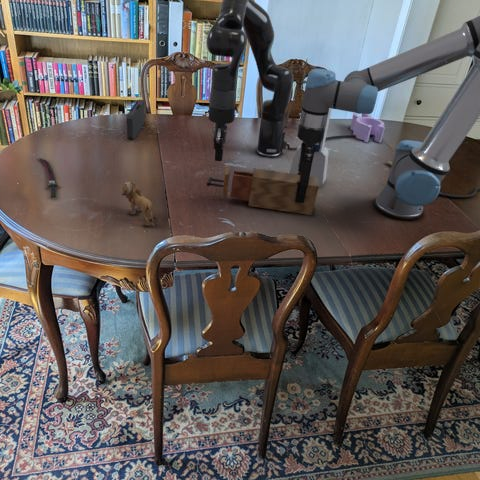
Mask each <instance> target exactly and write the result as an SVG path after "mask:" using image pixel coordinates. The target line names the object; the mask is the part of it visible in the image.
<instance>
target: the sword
mask: <svg viewBox="0 0 480 480" xmlns="http://www.w3.org/2000/svg"><path fill="white" fill-rule="evenodd" d="M40 161H41V162H42V163H43V165H44V166H45V169H46V173H47V176H48V185H47V188H50V198H56V197H57V189H56V188H57V187H59V185H58V184H57V183H56V180H55V176H54V172H53V169H52V167H51V164H50V163H49V161H48V160H46V159H43V158H40Z"/></svg>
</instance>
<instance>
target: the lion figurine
mask: <svg viewBox="0 0 480 480" xmlns="http://www.w3.org/2000/svg"><path fill="white" fill-rule="evenodd" d="M119 193H120V194H121V196H122V197H124V196H125V198H126V199H127V200H128V202H129V203H130V207H131V211H130V212H129V213H130V215H135V214H136V211H137V212H141V214H142V216H143V218H144V219H145V223H144V225H145V227H149V226H150V221H152V223H153V225H155V226H159V222H156V221H155V219H154V217H153V216H154V215H153V204H152V202H151V200H150V199H148V198H146V197H145V196H144V195H143V194H142V192H141V190H140V187H138V185H136V184H135V183H133V182H132V181H125V182H124V186H122V188H121V189H119ZM136 207H137V208H136ZM148 214H149V216H148Z"/></svg>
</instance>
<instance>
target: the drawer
mask: <svg viewBox="0 0 480 480" xmlns="http://www.w3.org/2000/svg"><path fill="white" fill-rule="evenodd" d="M230 175H231V167H226V168H225V173H224V179H218V178H213V177H212V176H209V177H208V179H207V182H206V186H207V187H210V186H213V187H219V188H222V197H221V199H223V200H226V199H227V196H228V191H229V186H230V185H229V184H230ZM252 178H253V172H252V171H251V172H250V171H244V170H238V169H234V170H233V174H232V181H231V188H230V195H229V197H230V199H235V200H240V201H241V200H242V201H248V202H249V198H250V192H251V185H252ZM215 182H217V183H215ZM220 183H223V184H220Z"/></svg>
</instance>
